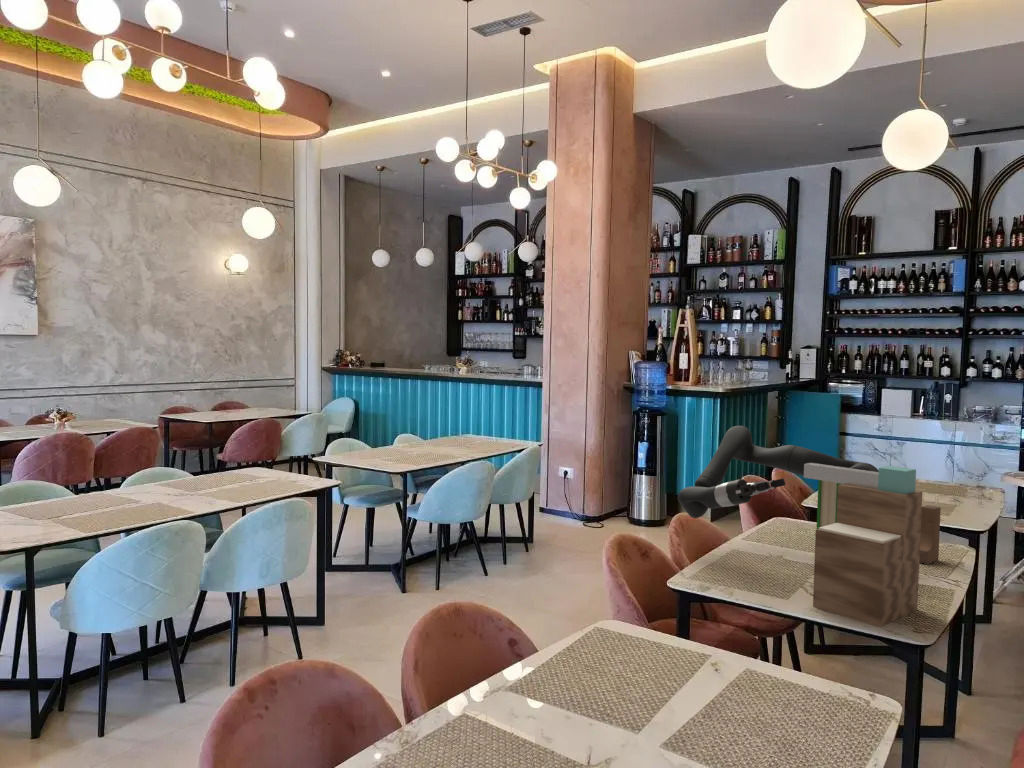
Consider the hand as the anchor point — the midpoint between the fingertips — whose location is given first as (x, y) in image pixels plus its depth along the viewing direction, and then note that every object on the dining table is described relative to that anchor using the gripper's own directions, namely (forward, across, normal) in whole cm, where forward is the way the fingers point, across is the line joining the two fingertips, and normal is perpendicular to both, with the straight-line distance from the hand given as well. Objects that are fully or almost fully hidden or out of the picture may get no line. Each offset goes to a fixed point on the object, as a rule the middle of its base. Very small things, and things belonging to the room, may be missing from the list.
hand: (776, 483), depth 223 cm
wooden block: (+9, -58, -35) cm, 68 cm away
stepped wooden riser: (+18, +5, -37) cm, 42 cm away
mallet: (+23, -2, -5) cm, 24 cm away
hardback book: (-22, -62, -24) cm, 70 cm away
